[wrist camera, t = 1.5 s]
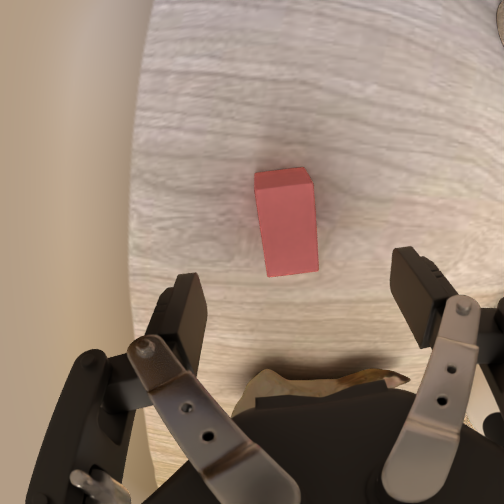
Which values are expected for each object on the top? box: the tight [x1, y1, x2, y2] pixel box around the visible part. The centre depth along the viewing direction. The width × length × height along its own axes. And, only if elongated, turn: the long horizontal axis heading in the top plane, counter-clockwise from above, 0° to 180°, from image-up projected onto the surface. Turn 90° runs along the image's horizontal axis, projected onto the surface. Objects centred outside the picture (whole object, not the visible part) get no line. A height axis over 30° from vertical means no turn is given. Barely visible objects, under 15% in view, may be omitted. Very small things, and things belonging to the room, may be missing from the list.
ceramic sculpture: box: [231, 368, 410, 418], centre depth 23 cm, size 11×9×15 cm
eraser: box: [254, 167, 319, 277], centre depth 17 cm, size 5×3×3 cm, turn 8°
